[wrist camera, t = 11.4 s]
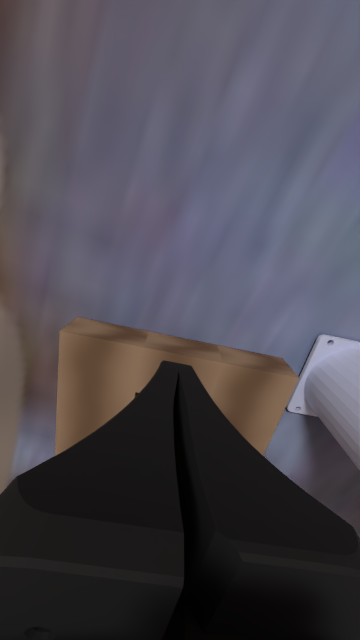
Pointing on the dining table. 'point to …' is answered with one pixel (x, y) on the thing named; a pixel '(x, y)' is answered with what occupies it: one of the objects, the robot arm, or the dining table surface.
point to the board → (140, 366)
